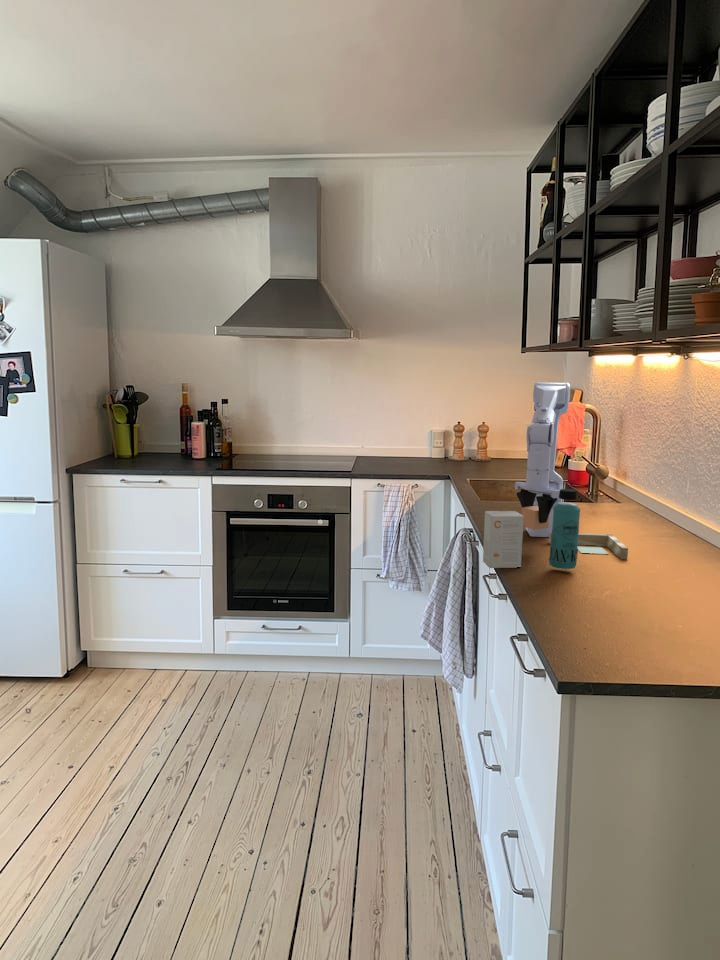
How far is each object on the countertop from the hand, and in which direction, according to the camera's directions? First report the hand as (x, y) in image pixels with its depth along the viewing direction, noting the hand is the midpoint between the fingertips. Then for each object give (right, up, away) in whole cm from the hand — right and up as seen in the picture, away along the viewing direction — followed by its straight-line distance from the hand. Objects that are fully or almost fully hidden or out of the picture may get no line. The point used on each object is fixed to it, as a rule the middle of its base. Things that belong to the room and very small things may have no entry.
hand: (535, 520), depth 189 cm
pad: (+16, -8, +3) cm, 18 cm away
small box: (-11, -10, -12) cm, 19 cm away
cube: (0, -2, 0) cm, 2 cm away
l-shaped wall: (+14, -8, +3) cm, 17 cm away
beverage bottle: (+3, -12, -17) cm, 20 cm away
